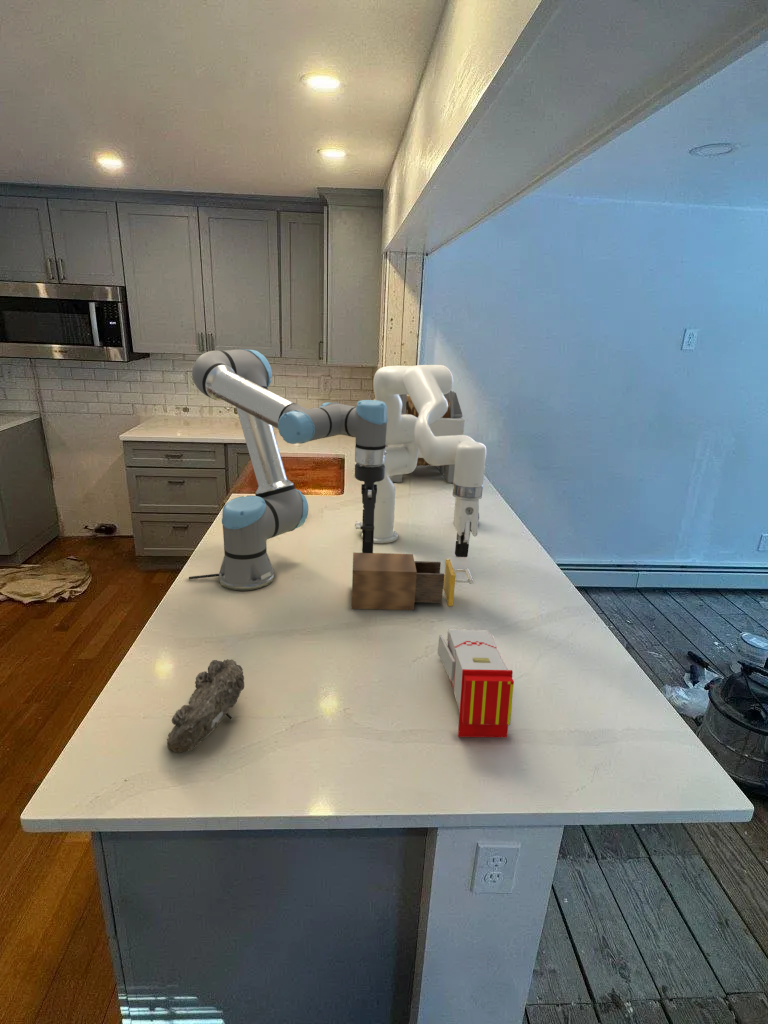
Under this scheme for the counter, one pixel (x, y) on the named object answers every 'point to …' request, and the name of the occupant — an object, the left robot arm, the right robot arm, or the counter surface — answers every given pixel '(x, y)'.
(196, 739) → the fossil
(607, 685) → the counter surface
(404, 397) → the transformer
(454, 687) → the toy
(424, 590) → the drawer
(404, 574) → the cabinet
